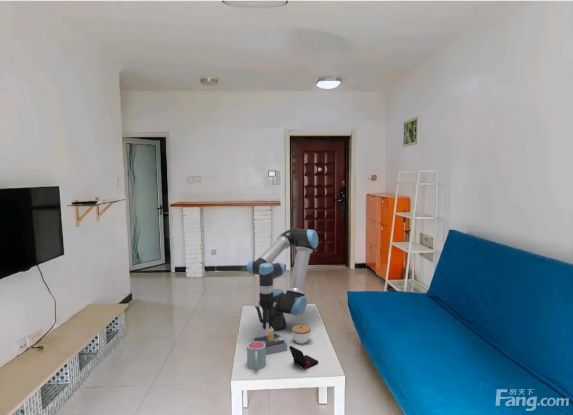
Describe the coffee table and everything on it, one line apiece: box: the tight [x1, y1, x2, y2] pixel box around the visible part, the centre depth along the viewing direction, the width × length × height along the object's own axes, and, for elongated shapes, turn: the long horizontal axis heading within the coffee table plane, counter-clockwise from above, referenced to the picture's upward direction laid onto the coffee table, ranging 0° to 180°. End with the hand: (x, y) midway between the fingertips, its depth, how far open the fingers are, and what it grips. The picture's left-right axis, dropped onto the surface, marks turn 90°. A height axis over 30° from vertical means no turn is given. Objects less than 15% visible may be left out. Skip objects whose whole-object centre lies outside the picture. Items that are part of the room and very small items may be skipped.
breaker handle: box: [266, 326, 275, 342], centre depth 202 cm, size 4×5×7 cm
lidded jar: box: [291, 324, 312, 345], centre depth 211 cm, size 11×11×9 cm
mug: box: [246, 341, 267, 370], centre depth 183 cm, size 14×9×10 cm
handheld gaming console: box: [289, 345, 319, 370], centre depth 185 cm, size 9×12×10 cm
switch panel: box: [251, 333, 288, 356], centre depth 202 cm, size 16×12×5 cm
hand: (266, 334), depth 202 cm, fingers closed
